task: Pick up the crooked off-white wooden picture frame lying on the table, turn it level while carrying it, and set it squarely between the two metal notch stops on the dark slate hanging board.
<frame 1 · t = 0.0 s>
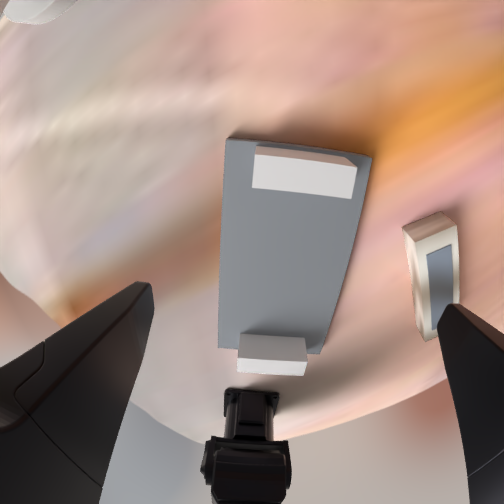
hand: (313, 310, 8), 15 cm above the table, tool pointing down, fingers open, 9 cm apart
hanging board: (283, 263, 25), on the table
frame: (427, 272, 25), on the table
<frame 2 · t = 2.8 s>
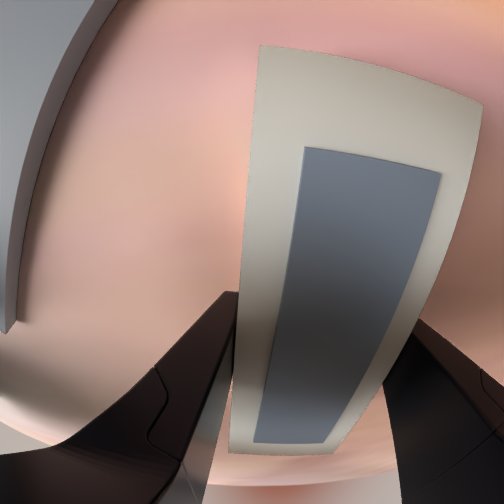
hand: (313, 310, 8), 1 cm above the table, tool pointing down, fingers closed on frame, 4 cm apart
frame: (308, 283, 9), on the table, touching gripper
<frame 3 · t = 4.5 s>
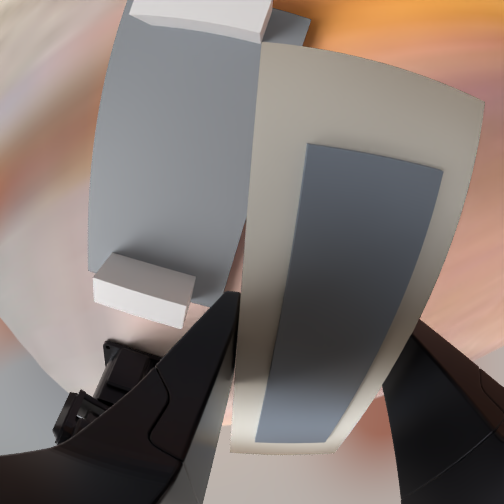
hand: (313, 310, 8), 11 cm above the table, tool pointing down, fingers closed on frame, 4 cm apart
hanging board: (175, 153, 17), on the table
frame: (309, 282, 9), point 10 cm above the table, touching gripper
when the fingers open (3 cm above the table, at t = 6.5 s): frame drops 1 cm, resting on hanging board.
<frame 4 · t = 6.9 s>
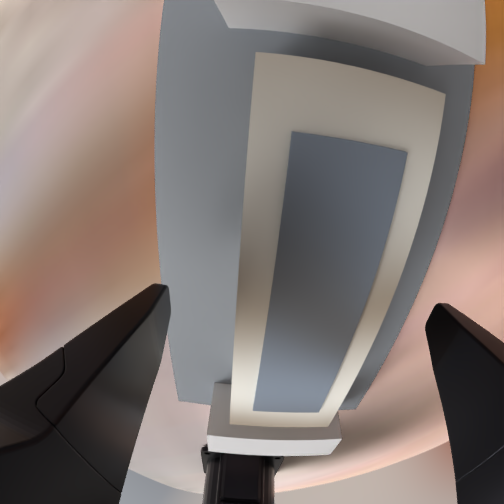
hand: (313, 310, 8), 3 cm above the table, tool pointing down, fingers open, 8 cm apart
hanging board: (300, 247, 11), on the table
frame: (301, 259, 10), point 1 cm above the table, touching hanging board
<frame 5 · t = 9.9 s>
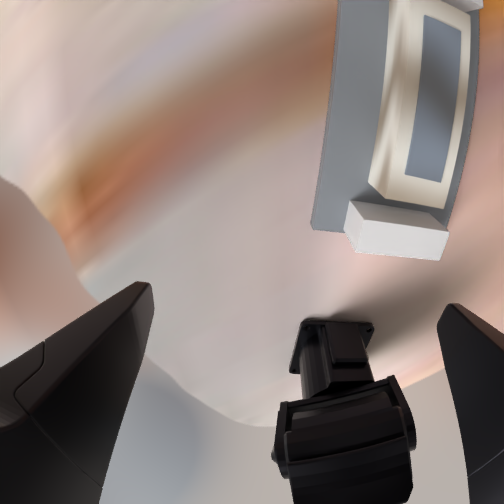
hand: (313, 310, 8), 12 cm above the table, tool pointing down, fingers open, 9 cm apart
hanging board: (406, 96, 15), on the table
frame: (412, 95, 14), point 1 cm above the table, touching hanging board
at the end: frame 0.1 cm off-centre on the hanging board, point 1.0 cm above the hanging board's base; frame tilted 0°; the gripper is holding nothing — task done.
